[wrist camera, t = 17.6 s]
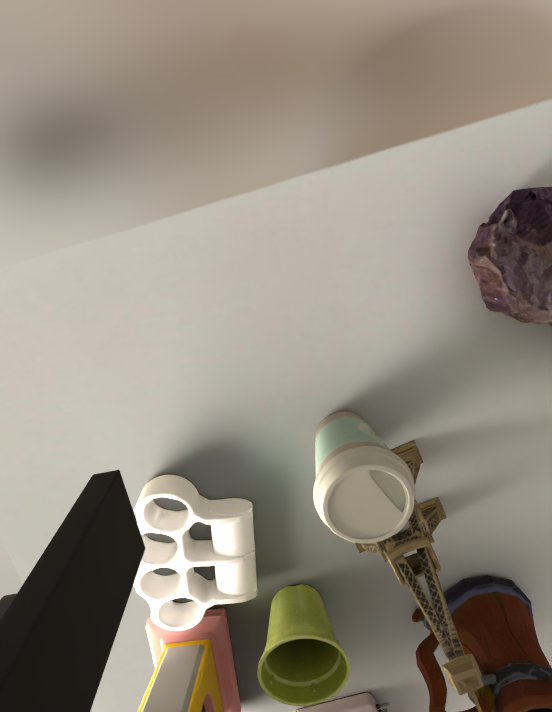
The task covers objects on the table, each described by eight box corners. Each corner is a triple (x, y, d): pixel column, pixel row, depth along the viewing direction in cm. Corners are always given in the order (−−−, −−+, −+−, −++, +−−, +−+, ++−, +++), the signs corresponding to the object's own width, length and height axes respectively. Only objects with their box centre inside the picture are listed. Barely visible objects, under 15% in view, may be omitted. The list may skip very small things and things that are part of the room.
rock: (542, 193, 43) (437, 211, 43) (612, 169, 34) (481, 192, 34) (553, 317, 44) (451, 335, 44) (622, 323, 36) (496, 345, 36)
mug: (375, 645, 57) (414, 790, 43) (386, 570, 54) (432, 700, 39) (515, 646, 58) (599, 788, 43) (535, 572, 54) (633, 700, 40)
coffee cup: (383, 467, 49) (421, 544, 38) (305, 475, 49) (318, 554, 38) (382, 394, 47) (421, 453, 35) (299, 402, 47) (312, 463, 35)
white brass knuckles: (258, 602, 54) (135, 609, 54) (250, 469, 49) (113, 476, 49) (258, 627, 51) (127, 634, 51) (250, 487, 46) (102, 495, 45)
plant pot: (288, 558, 53) (293, 622, 44) (352, 594, 54) (368, 662, 46) (242, 611, 55) (239, 682, 46) (305, 644, 56) (313, 718, 48)
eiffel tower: (413, 440, 49) (563, 659, 25) (445, 515, 52) (606, 776, 28) (323, 479, 50) (382, 725, 26) (359, 550, 53) (442, 831, 29)
